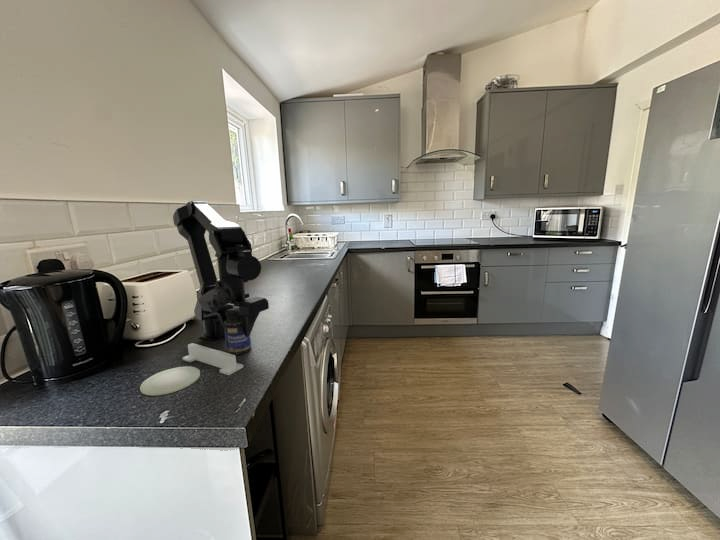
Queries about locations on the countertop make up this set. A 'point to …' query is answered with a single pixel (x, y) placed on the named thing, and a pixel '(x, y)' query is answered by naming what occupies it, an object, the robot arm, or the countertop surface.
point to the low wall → (213, 358)
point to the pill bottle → (235, 333)
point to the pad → (170, 381)
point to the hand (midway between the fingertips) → (237, 333)
